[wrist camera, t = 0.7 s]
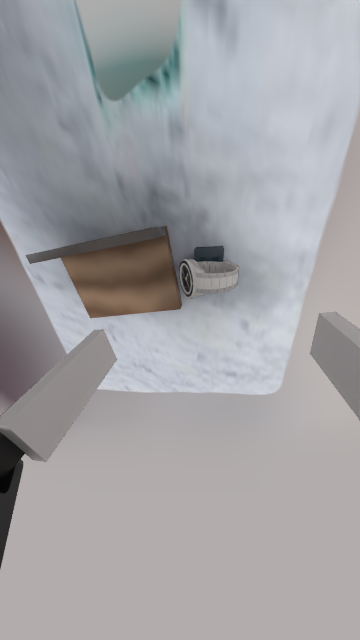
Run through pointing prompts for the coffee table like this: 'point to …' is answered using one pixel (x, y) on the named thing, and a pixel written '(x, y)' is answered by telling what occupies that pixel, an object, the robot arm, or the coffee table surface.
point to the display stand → (121, 272)
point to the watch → (207, 272)
